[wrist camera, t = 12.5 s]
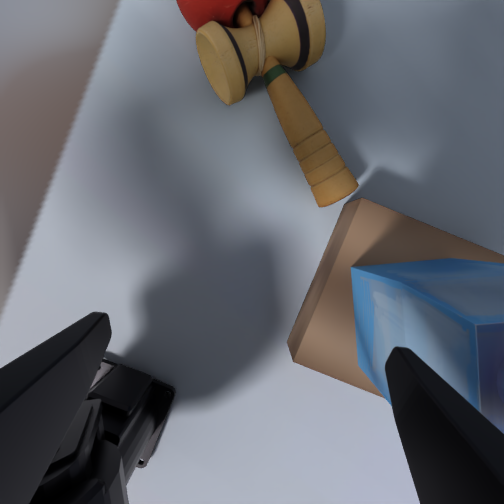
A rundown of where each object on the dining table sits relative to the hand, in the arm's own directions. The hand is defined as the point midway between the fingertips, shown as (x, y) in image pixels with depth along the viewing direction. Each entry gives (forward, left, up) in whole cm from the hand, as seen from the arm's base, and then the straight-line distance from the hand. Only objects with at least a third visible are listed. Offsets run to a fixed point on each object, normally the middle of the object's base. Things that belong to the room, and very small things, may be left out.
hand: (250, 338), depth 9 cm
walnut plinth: (+2, -10, -12) cm, 16 cm away
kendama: (+13, +4, -13) cm, 19 cm away
